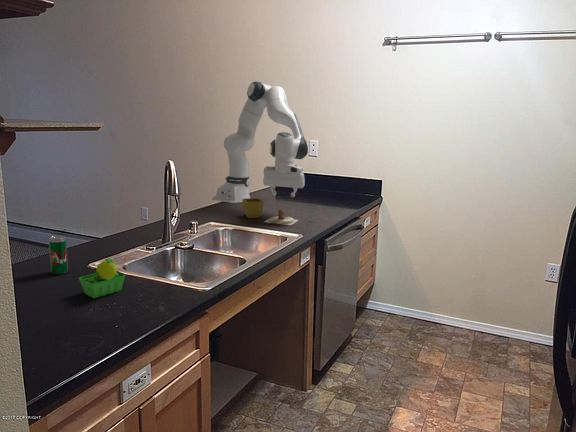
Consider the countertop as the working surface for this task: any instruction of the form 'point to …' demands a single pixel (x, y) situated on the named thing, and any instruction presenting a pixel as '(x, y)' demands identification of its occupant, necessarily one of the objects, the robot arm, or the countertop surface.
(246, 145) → the robot arm
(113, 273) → the fruit basket
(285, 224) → the mat
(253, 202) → the flower pot
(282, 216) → the lid
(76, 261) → the countertop surface
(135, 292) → the countertop surface
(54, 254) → the soda can
